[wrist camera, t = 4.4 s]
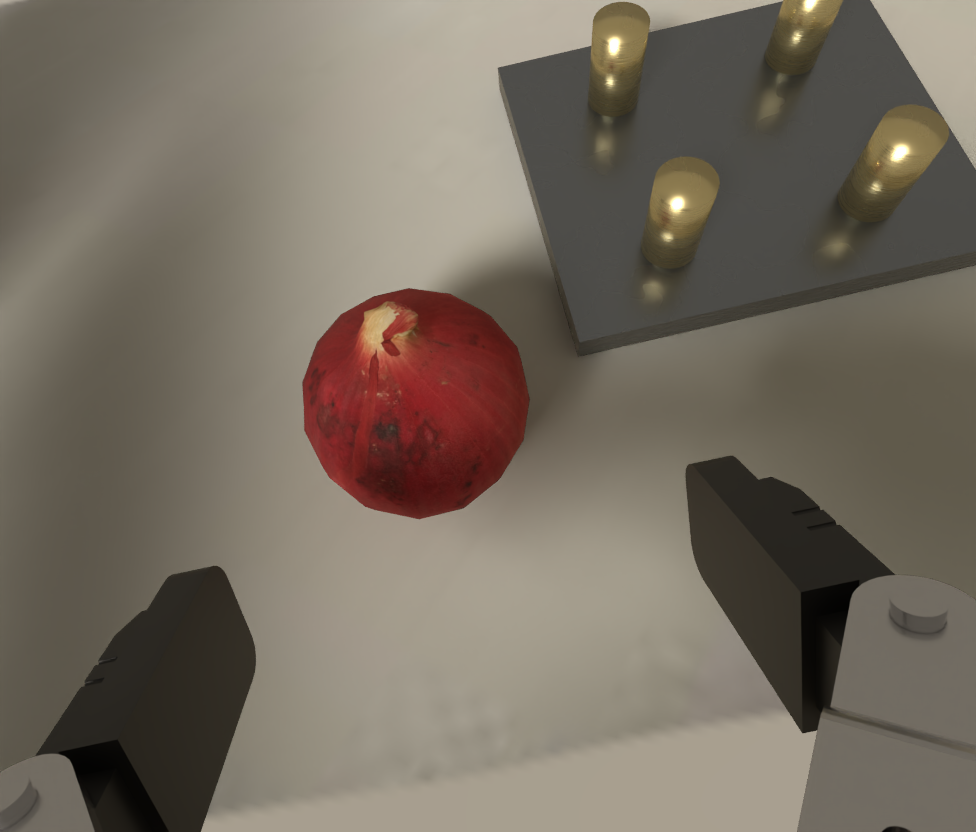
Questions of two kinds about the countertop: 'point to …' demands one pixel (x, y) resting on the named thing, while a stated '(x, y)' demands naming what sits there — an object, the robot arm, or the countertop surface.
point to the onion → (415, 402)
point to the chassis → (734, 167)
